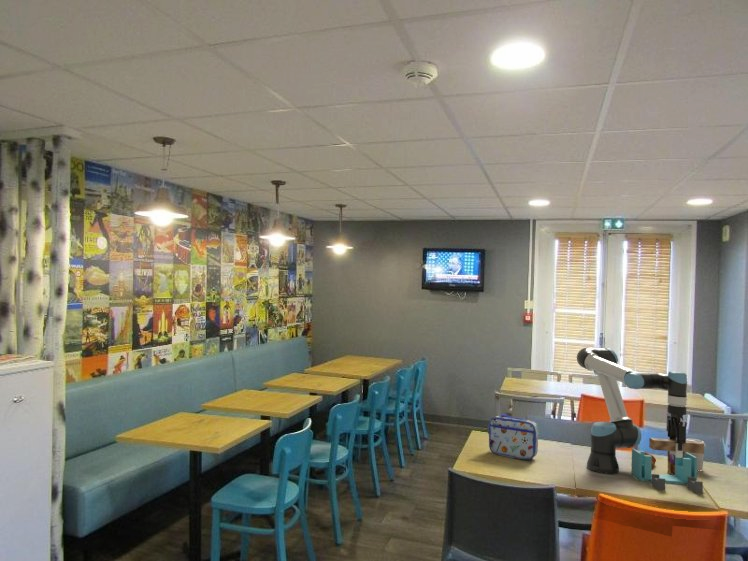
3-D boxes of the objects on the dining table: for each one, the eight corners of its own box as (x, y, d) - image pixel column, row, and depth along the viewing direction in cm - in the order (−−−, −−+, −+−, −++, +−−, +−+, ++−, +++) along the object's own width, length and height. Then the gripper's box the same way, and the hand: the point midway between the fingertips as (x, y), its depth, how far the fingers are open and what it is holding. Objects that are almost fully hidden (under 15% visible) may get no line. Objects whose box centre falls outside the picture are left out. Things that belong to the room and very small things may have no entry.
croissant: (634, 464, 277) (627, 450, 278) (652, 457, 275) (644, 444, 276) (644, 475, 256) (636, 460, 258) (663, 468, 254) (655, 453, 256)
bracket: (639, 480, 237) (639, 453, 238) (631, 474, 246) (631, 448, 247) (696, 485, 234) (696, 457, 235) (686, 478, 243) (686, 452, 244)
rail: (653, 449, 228) (653, 440, 228) (649, 447, 232) (649, 437, 233) (704, 453, 225) (704, 444, 226) (698, 451, 230) (699, 441, 230)
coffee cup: (709, 473, 255) (709, 443, 255) (688, 471, 256) (688, 442, 257) (700, 467, 264) (700, 439, 265) (681, 465, 266) (681, 437, 267)
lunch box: (484, 453, 273) (485, 413, 275) (490, 449, 282) (491, 410, 283) (534, 463, 258) (535, 421, 260) (539, 458, 267) (540, 417, 269)
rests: (658, 490, 225) (658, 478, 225) (651, 485, 232) (651, 473, 232) (702, 493, 223) (702, 482, 223) (694, 488, 230) (694, 477, 230)
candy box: (689, 477, 247) (689, 446, 248) (684, 477, 245) (684, 446, 246) (672, 471, 255) (672, 441, 256) (667, 472, 253) (667, 442, 254)
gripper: (695, 409, 221) (694, 462, 220) (676, 402, 238) (675, 450, 237) (677, 408, 222) (676, 460, 220) (659, 401, 239) (658, 449, 238)
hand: (676, 455), depth 229 cm, fingers closed on rail, 4 cm apart
